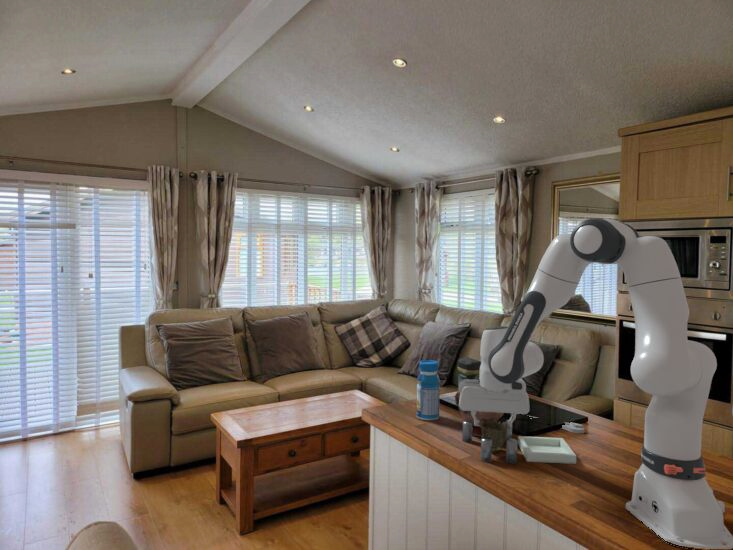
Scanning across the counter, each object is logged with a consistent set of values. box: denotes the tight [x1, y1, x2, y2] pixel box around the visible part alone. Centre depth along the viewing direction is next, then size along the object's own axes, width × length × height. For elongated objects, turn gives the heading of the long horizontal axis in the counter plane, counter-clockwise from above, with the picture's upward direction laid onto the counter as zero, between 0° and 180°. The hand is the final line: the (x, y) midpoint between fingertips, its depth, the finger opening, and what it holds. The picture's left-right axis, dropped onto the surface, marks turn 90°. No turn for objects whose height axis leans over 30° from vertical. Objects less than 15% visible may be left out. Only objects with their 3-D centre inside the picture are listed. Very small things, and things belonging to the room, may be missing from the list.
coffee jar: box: [457, 356, 481, 392], centre depth 192 cm, size 10×8×19 cm
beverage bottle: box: [415, 359, 441, 421], centre depth 179 cm, size 8×8×20 cm
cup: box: [481, 421, 507, 453], centre depth 149 cm, size 8×7×8 cm
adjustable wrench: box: [528, 415, 585, 434], centre depth 174 cm, size 25×6×2 cm, turn 49°
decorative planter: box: [454, 390, 505, 437], centre depth 165 cm, size 20×12×14 cm, turn 41°
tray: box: [517, 435, 577, 465], centre depth 148 cm, size 13×13×2 cm
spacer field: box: [462, 420, 518, 464], centre depth 149 cm, size 17×15×6 cm
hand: (492, 426), depth 149 cm, fingers open, 8 cm apart
